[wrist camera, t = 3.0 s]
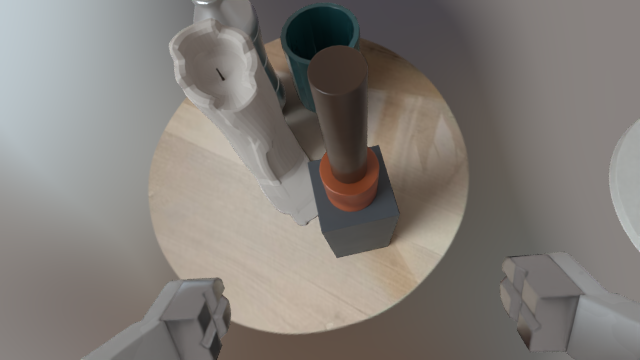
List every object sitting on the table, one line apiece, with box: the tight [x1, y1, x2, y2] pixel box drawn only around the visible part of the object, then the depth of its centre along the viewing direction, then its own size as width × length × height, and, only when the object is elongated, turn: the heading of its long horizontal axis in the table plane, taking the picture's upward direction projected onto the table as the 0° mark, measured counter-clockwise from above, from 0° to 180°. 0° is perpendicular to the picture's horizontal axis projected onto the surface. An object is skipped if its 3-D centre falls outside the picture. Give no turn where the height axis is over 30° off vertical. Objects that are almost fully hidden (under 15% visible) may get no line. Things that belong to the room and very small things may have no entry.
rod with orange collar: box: [307, 45, 379, 212], centre depth 20 cm, size 4×4×14 cm
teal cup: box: [280, 3, 360, 113], centre depth 42 cm, size 9×9×10 cm
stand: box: [307, 145, 400, 258], centre depth 33 cm, size 6×6×14 cm
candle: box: [169, 18, 318, 226], centre depth 33 cm, size 7×14×20 cm, turn 32°
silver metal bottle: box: [191, 0, 286, 110], centre depth 37 cm, size 6×7×20 cm
